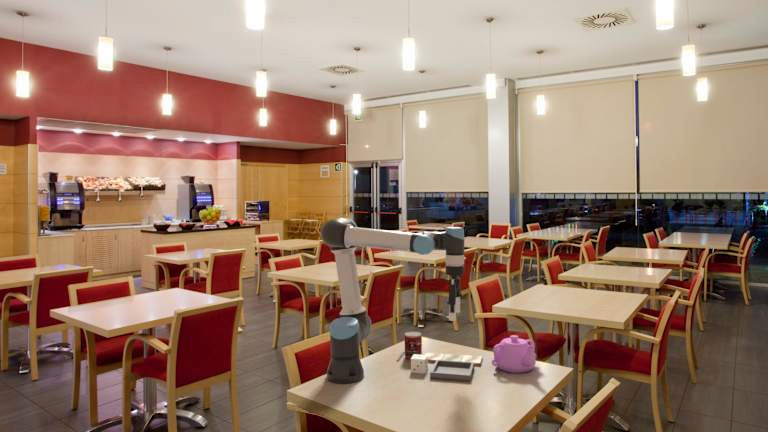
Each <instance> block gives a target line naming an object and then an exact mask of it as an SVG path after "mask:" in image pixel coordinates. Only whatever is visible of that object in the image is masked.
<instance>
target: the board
mask: <svg viewBox="0 0 768 432" xmlns="http://www.w3.org/2000/svg"><path fill="white" fill-rule="evenodd" d="M403 355H405V351H402V352H401V353H400V355H399V356H398V358H397V359H396V362H399V361H400V360H401V358H402V357H403ZM424 355H428V363H434V364H435V362H436V360H448V361H463V362H474V367H481V366H482V362H483V356H482V355H479V356H478V355H471V354H470V355H469V354H466V355H465V354H455V353H454V354H451V353H439V352H437V353H436V352H426V353H425V354H424Z"/></svg>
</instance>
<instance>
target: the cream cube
mask: <svg viewBox="0 0 768 432" xmlns="http://www.w3.org/2000/svg"><path fill="white" fill-rule="evenodd" d="M428 364H429V362H428V355H425V354H422V355H419V354H414V355H413V356H412V358H411V360H410V374H411V373H412V374H426V372H427V371H428V369H429V365H428Z"/></svg>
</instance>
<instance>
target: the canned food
mask: <svg viewBox="0 0 768 432" xmlns="http://www.w3.org/2000/svg"><path fill="white" fill-rule="evenodd" d="M422 338H423V337H422V333H421V332H420V331H408V332H405V333H404V352H405V353H404V357H405V359H406V360H408V361H411V358H412V356H413V355H414V354H419V355H423V353H422V351H423V349H422V348H423V347H422V345H423V344H422V343H423V341H422Z"/></svg>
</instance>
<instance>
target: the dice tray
mask: <svg viewBox="0 0 768 432" xmlns="http://www.w3.org/2000/svg"><path fill="white" fill-rule="evenodd" d="M474 369H475V366H474V362H463V361H448V360H436V362H435V363H434V364H433V365H432V368H431V370H430V372H429V379H433V380H444V381H446V380H447V381H456V382H457V381H458V382H471V380H472V377H473V373H474Z"/></svg>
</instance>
